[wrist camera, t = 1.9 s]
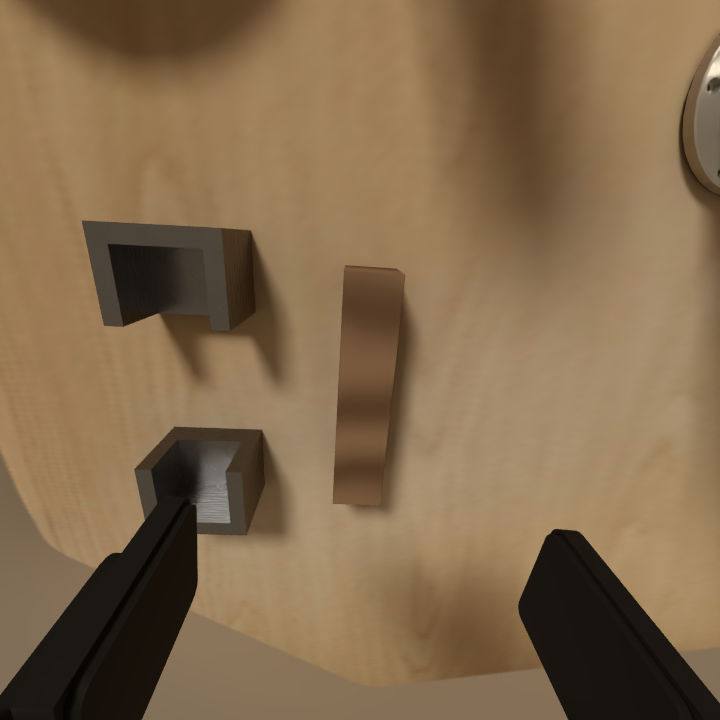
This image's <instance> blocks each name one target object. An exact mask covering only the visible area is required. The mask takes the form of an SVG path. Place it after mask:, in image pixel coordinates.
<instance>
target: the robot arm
mask: <svg viewBox="0 0 720 720" xmlns="http://www.w3.org/2000/svg"><path fill="white" fill-rule="evenodd" d="M683 143H684V149H685V155H686V158H687V160H688V163H689V165H690V168H691V170H692V172H693V173H694V174H695V176H696V177H697V179H698V180H699V182H700V183H702V184H703V185H704V186H705V187H706V188H708V189H709V190H710V191H712V192H714V193H716V194H718V195H720V34H719V35H718V36H717V38H716V39H715V41H714V42H713V44H712V45H711V47H710V48H709V50H708V51H707V52H706V54H705V56H704V58H703V60H702V62H701V64H700V66H699V68H698V70H697V72H696V74H695V76H694V79H693V82H692V85H691V88H690V90H689V93H688V96H687V101H686V106H685V111H684V116H683ZM197 582H198V570H197V506H196V505H193V504H190V499H189V498H186V497H174V496H164V497H162V498H161V499H160V501H159V502H158V503H157V505H156V506H155V508H154V509H153V510H152V512H151V513H150V514H149V516H148V517H147V519H146V520H145V521H144V523H143V524H142V526H141V527H140V528H139V530H138V531H137V532H136V534H135V535H134V537H133V538H132V539H131V541H130V542H129V544H128V545H127V546H126V548H125V549H124V550H123V552H122V553H112V554H111V555H109V556H108V557H106V558H105V559H104V561H103V562H102V563H101V564H100V565H99V566H98V568H97V569H96V570H95V572H94V573H93V574H92V576H91V577H90V578H89V580H88V581H87V582H86V584H85V585H84V586H83V587H82V589H81V590H80V591H79V593H78V594H77V596H76V597H75V598H74V599H73V601H72V602H71V603H70V605H69V606H68V607H67V608H66V610H65V611H64V612H63V614H62V615H61V616H60V618H59V619H58V620H57V622H56V623H55V624H54V625H53V627H52V628H51V629H50V631H49V632H48V633H47V635H46V636H45V637H44V639H43V640H42V641H41V642H40V644H39V645H38V646H37V648H36V649H35V650H34V652H33V653H32V654H31V656H30V657H29V658H28V660H27V661H26V662H25V663H24V665H23V666H22V667H21V669H20V670H19V671H18V673H17V674H16V675H15V677H14V678H13V679H12V680H11V682H10V683H9V684H8V686H7V687H6V688H5V690H4V691H3V692H2V694H1V695H0V720H142V718H143V715H144V713H145V711H146V709H147V706H148V704H149V701H150V699H151V697H152V694H153V692H154V690H155V687H156V685H157V683H158V680H159V678H160V676H161V673H162V671H163V668H164V666H165V664H166V662H167V659H168V657H169V655H170V652H171V650H172V648H173V645H174V643H175V641H176V638H177V636H178V634H179V631H180V629H181V627H182V624H183V622H184V619H185V617H186V615H187V612H188V610H189V608H190V606H191V603H192V601H193V598H194V596H195V592H196V588H197ZM518 608H519V614H520V617H521V620H522V622H523V624H524V626H525V628H526V631H527V633H528V635H529V637H530V639H531V641H532V643H533V645H534V648H535V650H536V652H537V654H538V656H539V658H540V660H541V663H542V665H543V667H544V669H545V671H546V673H547V675H548V677H549V680H550V682H551V683H552V686H553V688H554V690H555V692H556V695H557V696H558V699H559V701H560V703H561V705H562V707H563V709H564V712H565V713H566V716H567V718H568V720H720V703H719V702H718V701H717V699H716V698H715V697H714V696H713V695H712V693H711V692H710V691H709V690H708V688H707V687H706V686H705V685H704V683H703V682H702V681H701V680H700V679H699V677H698V676H697V675H696V674H695V672H694V671H693V670H692V669H691V668H690V666H689V665H688V664H687V663H686V661H685V660H684V659H683V658H682V657H681V655H680V654H679V653H678V652H677V650H676V649H675V648H674V647H673V645H672V644H671V643H670V642H669V641H668V639H667V638H666V637H665V636H664V634H663V633H662V632H661V631H660V629H659V628H658V627H657V626H656V625H655V623H654V622H653V621H652V620H651V618H650V617H649V616H648V615H647V614H646V612H645V611H644V610H643V609H642V607H641V606H640V605H639V604H638V602H637V601H636V600H635V599H634V598H633V596H632V595H631V594H630V593H629V591H628V590H627V589H626V588H625V587H624V585H623V584H622V583H621V582H620V580H619V579H618V578H617V577H616V575H615V574H614V573H613V572H612V571H611V569H610V568H609V567H608V566H607V564H606V563H605V562H604V561H603V560H602V558H601V557H600V556H599V555H598V553H597V552H596V551H595V550H594V548H593V547H592V546H591V545H590V544H589V542H588V541H587V540H586V539H585V537H584V536H583V535H582V534H581V533H580V532H578V531H573V530H561V529H554V530H553V531H552V532H551V534H549V535H547V536H546V538H545V541H544V543H543V545H542V548H541V550H540V553H539V555H538V557H537V560H536V562H535V565H534V567H533V569H532V572H531V574H530V577H529V579H528V581H527V584H526V586H525V589H524V591H523V593H522V596H521V598H520V601H519V605H518Z"/></svg>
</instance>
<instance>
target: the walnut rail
mask: <svg viewBox="0 0 720 720" xmlns="http://www.w3.org/2000/svg"><path fill="white" fill-rule="evenodd" d="M404 282H405V274H403V273H402V272H400V271H399V270H397V269H391V268H377V267H362V266H347V265H346V266H345V269H344V283H343V304H342V324H341V344H340V364H339V385H338V405H337V425H336V446H335V466H334V486H333V504H352V505H379V506H380V502H381V493H382V483H383V474H384V465H385V456H386V447H387V438H388V428H389V419H390V410H391V401H392V392H393V383H394V374H395V364H396V355H397V346H398V337H399V328H400V319H401V310H402V300H403V291H404Z"/></svg>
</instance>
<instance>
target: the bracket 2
mask: <svg viewBox="0 0 720 720" xmlns="http://www.w3.org/2000/svg"><path fill="white" fill-rule="evenodd" d="M134 470H135V475H136V479H137V484H138V489H139V494H140V498H141V503H142V508H143V512H144V517H145V520H146V519H147V517H148V516H149V514H150V513H151V512H152V510H153V509H154V508H155V506H156V505H157V503H158V502H159V501H160V499H161V498H162V497H164V496H174V497H186V498H189V499H190V504H193V505H196V506H197V534H219V535H247V532H248V530H249V527H250V524H251V521H252V518H253V516H254V513H255V510H256V507H257V504H258V502H259V499H260V496H261V493H262V491H263V488H264V485H265V482H264V464H263V446H262V430H249V429H220V428H190V427H174V428H173V429H172V430H171V431H170V432H169V433H168V434H167V435H166V436H165V437H164V439H163V440H162V441H161V442H160V443H159V444H158V445H157V446H156V447H155V448H154V449H153V450H152V451H151V452H150V453H149V454H148V455H147V456H146V458H145V459H144V460H143V461H142V462H141V463H140V464H139V465H138V466H137V467H136V468H135V469H134Z"/></svg>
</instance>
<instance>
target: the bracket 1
mask: <svg viewBox="0 0 720 720" xmlns="http://www.w3.org/2000/svg"><path fill="white" fill-rule="evenodd" d="M82 224H83V229H84V233H85V238H86V243H87V248H88V252H89V257H90V262H91V267H92V271H93V276H94V281H95V285H96V290H97V295H98V300H99V304H100V309H101V314H102V319H103V323H104V326H120V327H124V326H126V325H129V324H132V323H134V322H137V321H139V320H142V319H145V318H147V317H150V316H152V315H155V314H179V315H201V316H209V317H210V327H211V331H231V330H232V329H234V328H235V327H236V326H238V325H239V324H240V323H242V322H243V321H244V320H246V319H247V318H248V317H249V316H251V315H252V314H253V313H255V299H254V281H253V263H252V244H251V231H250V230H238V229H225V228H208V227H190V226H172V225H154V224H136V223H118V222H99V221H82Z"/></svg>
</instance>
